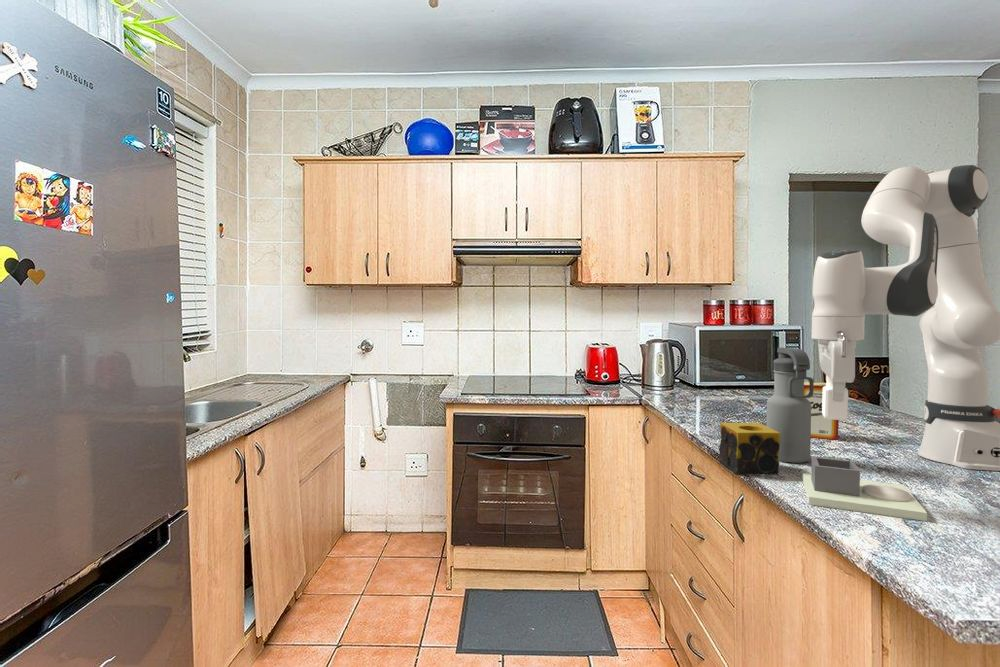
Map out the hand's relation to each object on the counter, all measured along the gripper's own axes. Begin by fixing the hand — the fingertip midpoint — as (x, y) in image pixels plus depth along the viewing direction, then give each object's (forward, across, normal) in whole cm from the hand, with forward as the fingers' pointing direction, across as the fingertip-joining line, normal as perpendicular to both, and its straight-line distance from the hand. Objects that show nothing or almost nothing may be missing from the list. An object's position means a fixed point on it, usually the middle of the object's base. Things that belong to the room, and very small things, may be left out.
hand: (835, 399), depth 102 cm
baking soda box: (+20, +54, -2) cm, 58 cm away
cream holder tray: (+20, 0, -4) cm, 20 cm away
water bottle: (+20, +25, +7) cm, 33 cm away
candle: (+20, +12, +16) cm, 28 cm away
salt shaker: (+4, 0, 0) cm, 4 cm away
